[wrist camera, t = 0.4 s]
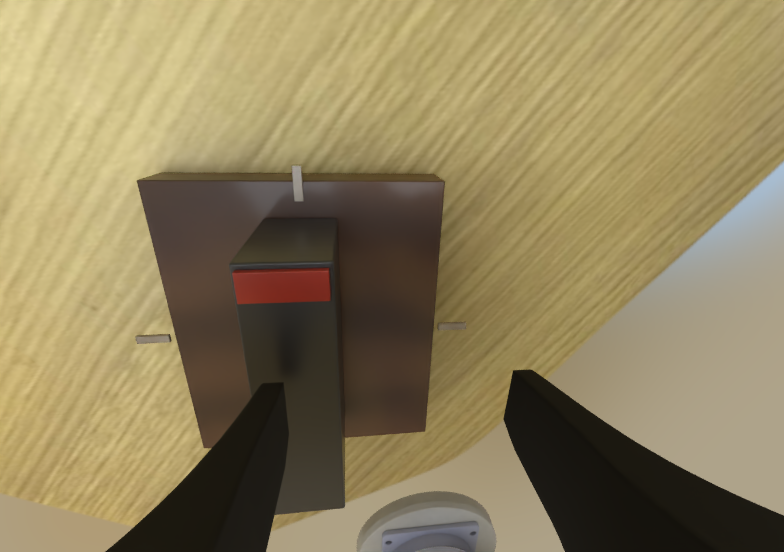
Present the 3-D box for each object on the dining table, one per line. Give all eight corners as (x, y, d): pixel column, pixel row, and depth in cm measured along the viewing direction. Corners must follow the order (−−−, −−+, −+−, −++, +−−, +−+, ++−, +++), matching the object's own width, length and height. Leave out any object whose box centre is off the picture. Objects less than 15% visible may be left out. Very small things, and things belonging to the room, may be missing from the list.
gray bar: (345, 417, 20) (344, 514, 15) (287, 422, 19) (269, 522, 15) (337, 217, 15) (333, 264, 11) (263, 217, 15) (224, 266, 10)
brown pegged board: (443, 412, 23) (452, 439, 21) (188, 430, 21) (172, 462, 19) (469, 160, 17) (485, 166, 15) (115, 157, 15) (82, 163, 13)
